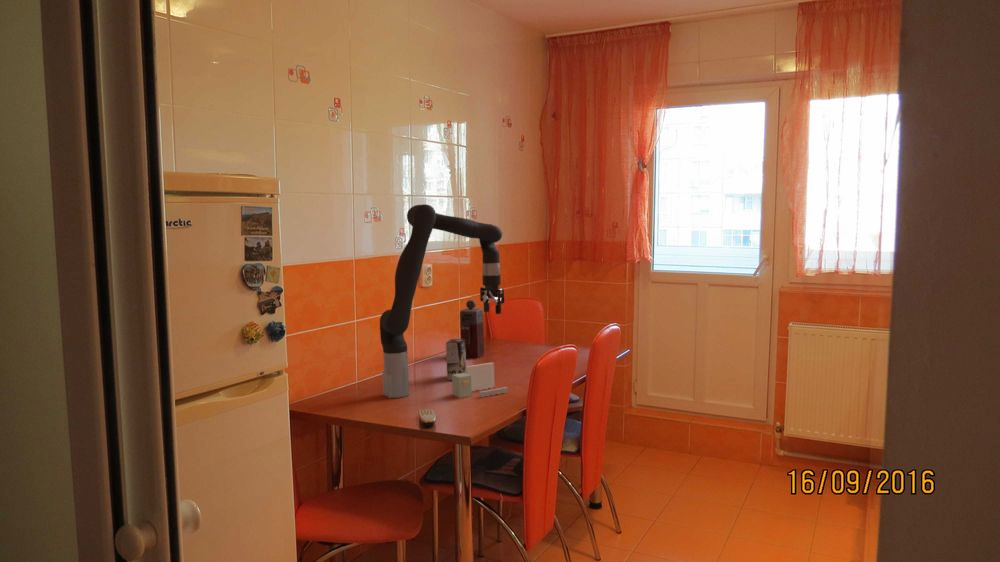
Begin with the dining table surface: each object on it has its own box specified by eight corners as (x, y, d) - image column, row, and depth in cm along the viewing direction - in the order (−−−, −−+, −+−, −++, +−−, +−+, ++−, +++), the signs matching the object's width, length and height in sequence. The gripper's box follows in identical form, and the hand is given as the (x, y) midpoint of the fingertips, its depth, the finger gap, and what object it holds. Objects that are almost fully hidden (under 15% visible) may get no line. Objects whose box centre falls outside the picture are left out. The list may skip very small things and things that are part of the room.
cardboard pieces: (480, 397, 263) (479, 371, 262) (466, 391, 273) (465, 366, 272) (507, 392, 269) (507, 367, 268) (493, 387, 279) (492, 362, 278)
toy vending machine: (459, 359, 336) (457, 301, 334) (467, 354, 347) (465, 298, 345) (477, 359, 334) (474, 301, 331) (484, 355, 344) (482, 298, 342)
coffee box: (461, 380, 292) (460, 342, 291) (446, 380, 294) (445, 342, 292) (467, 375, 301) (465, 338, 300) (452, 375, 302) (451, 338, 301)
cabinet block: (461, 398, 262) (460, 377, 262) (452, 395, 269) (452, 374, 268) (472, 396, 265) (472, 375, 264) (464, 393, 271) (463, 372, 270)
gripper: (474, 273, 292) (475, 312, 293) (493, 275, 280) (494, 315, 282) (489, 272, 296) (490, 310, 298) (508, 274, 285) (509, 313, 286)
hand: (492, 312), depth 290 cm, fingers open, 8 cm apart
